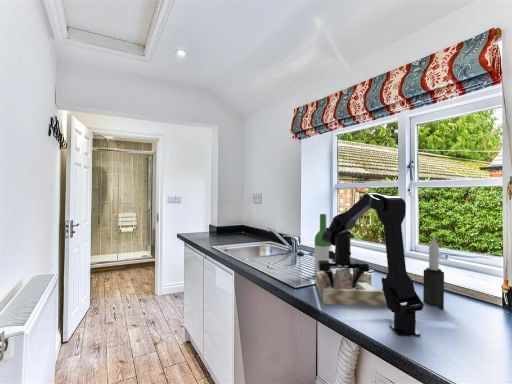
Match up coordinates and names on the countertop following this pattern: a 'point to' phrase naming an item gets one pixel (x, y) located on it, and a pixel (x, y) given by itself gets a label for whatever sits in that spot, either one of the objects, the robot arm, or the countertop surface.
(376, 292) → the beige shallow tray
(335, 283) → the white printed packet
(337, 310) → the countertop surface
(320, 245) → the wine bottle
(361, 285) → the offcut top
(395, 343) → the countertop surface
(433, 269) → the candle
